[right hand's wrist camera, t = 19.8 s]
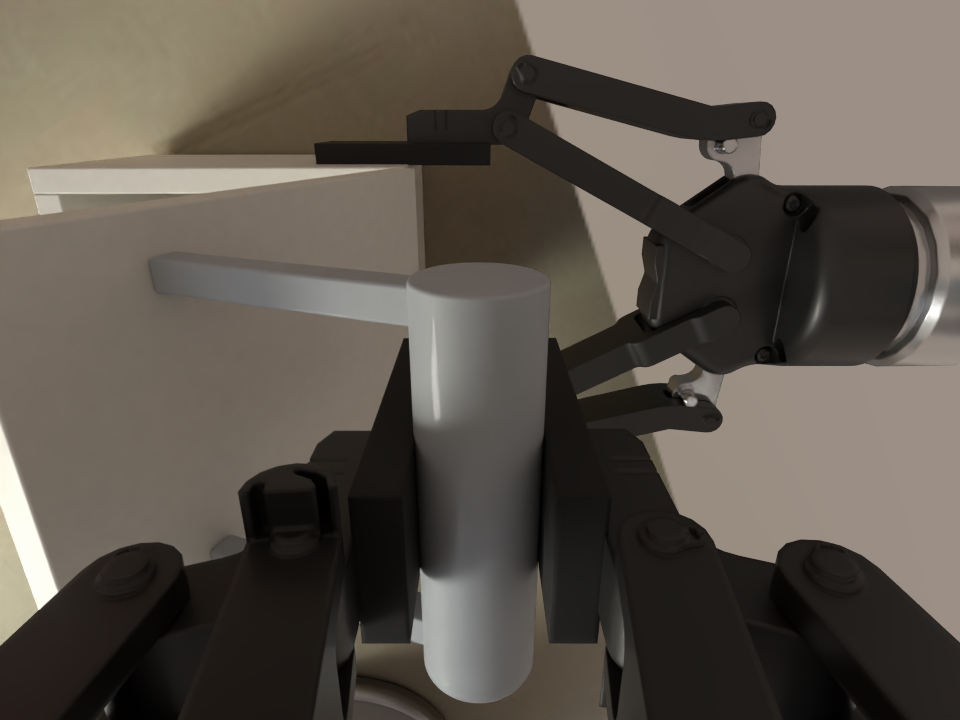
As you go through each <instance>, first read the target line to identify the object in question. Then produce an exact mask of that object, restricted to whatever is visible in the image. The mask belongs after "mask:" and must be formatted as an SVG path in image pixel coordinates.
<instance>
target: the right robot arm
mask: <svg viewBox="0 0 960 720" xmlns="http://www.w3.org/2000/svg"><path fill="white" fill-rule="evenodd" d="M238 497H239V502H240V508H241V513H242V519H243V524H244V530H245V535H246V541H247V542H246V545H245V547H244V550H243V551H241V552H239V553H237V554H234V555H230V556H227V557H223V558H219V559H215V560H210V561H206V562H201V563H196V564H192V565H187V566H185V565H184V561H183V557H182V554H181V553H180V552H179V551H178V550H177V549H176V548H175V547H174V546H172V545H168V544H164V543H161V542H151V543H138V544H134V545H130V546H126V547H123V548H119V549H117V550H115V551H113V552H110V553H108V554H106V555H104V556H102V557H100V558H98V559H97V560H95V561H94V562H92V563H91V564H90V565H88V566H87V567H86V568H84V569H83V570H81V571H80V572H79V573H78V574H77V575H76V576H75V577H74V578H73V579H72V580H71V581H70V582H69V583H67V584H66V585H65V586H64V587H63V588H62V589H61V590H60V591H59V592H58V593H57V594H56V595H55V596H53V597H52V598H51V599H50V600H49V601H48V602H47V603H46V604H45V605H44V606H43V607H42V608H41V609H40V610H38V611H37V612H36V613H35V614H34V615H33V616H32V617H31V618H30V619H29V620H28V621H27V622H26V623H24V624H23V625H22V626H21V627H20V628H19V629H18V630H17V631H16V632H15V633H14V634H13V635H12V636H11V637H9V638H8V639H7V640H6V641H5V642H4V643H3V644H2V645H1V646H0V720H352V716H353V705H354V695H355V684H356V674H357V667H356V658H355V649H354V643H355V639H356V635H357V630H358V626H359V622H360V627H361V637H362V643H411V635H412V628H413V620H414V613H415V605H416V598H417V590H418V583H419V575H420V547H419V525H418V504H417V483H416V462H415V441H414V433H413V413H412V392H411V371H410V350H409V338H404V339H403V342H402V344H401V347H400V350H399V353H398V356H397V359H396V361H395V364H394V367H393V370H392V373H391V376H390V378H389V381H388V384H387V387H386V390H385V393H384V395H383V398H382V401H381V404H380V407H379V410H378V412H377V415H376V418H375V421H374V424H373V427H372V429H371V431H333V432H332V433H331V434H329V435H328V436H327V437H325V438H324V439H323V440H322V441H320V442H319V443H318V444H317V445H316V447H315V449H314V451H313V453H312V455H311V457H310V462H308V463H307V464H304V463H294V464H288V465H281V466H277V467H274V468H271V469H268V470H265V471H263V472H260V473H259V474H257V475H255V476H254V477H252V478H251V479H249V480H248V481H246V482H245V483H244V485H243V486H242V487H241V488H240V490H239V491H238ZM538 563H539V571H540V578H541V586H542V594H543V601H544V609H545V616H546V624H547V631H548V639H549V643H597V642H598V632H599V622H600V621H601V625H602V630H603V634H604V638H605V642H606V649H605V658H604V667H603V677H602V686H601V695H600V705H599V707H607V714H608V720H960V642H959V641H957V640H956V639H955V638H954V637H953V636H952V635H951V634H950V633H949V632H948V631H947V630H946V629H945V628H943V627H942V626H941V625H940V624H939V623H938V622H937V621H936V620H935V619H934V618H933V617H932V616H930V615H929V614H928V613H927V612H926V611H925V610H924V609H923V608H922V607H921V606H920V605H919V604H917V603H916V602H915V601H914V600H913V599H912V598H911V597H910V596H909V595H908V594H907V593H906V592H904V591H903V590H902V589H901V588H900V587H899V586H898V585H897V584H896V583H895V582H894V581H893V580H891V579H890V578H889V577H888V576H887V575H886V574H885V573H884V572H883V571H882V570H881V569H880V568H878V567H877V566H876V565H874V564H873V563H871V562H870V561H869V560H867V559H866V558H865V557H863V556H862V555H860V554H858V553H855V552H853V551H851V550H849V549H847V548H845V547H842V546H840V545H836V544H833V543H829V542H824V541H820V540H797V541H794V542H790V543H786V544H785V545H784V546H783V547H782V548H781V549H780V550H779V551H778V554H777V558H776V563H775V564H774V563H770V562H765V561H761V560H756V559H752V558H747V557H742V556H738V555H735V554H731V553H728V552H724V551H722V550H720V549H717V548H716V546H715V544H714V541H713V540H712V538H711V537H710V535H709V534H708V532H707V531H706V530H705V529H704V528H703V527H701V526H700V525H699V524H697V523H696V522H695V521H693V520H692V519H690V518H687V517H685V516H682V515H680V514H679V513H678V511H677V509H676V507H675V505H674V503H673V501H672V499H671V497H670V495H669V493H668V491H667V489H666V487H665V485H664V483H663V481H662V479H661V477H660V475H659V473H657V470H656V468H655V466H654V464H653V462H652V460H650V456H649V454H648V452H647V450H646V448H645V446H644V444H643V442H642V441H641V440H639V439H638V438H637V437H635V436H634V435H633V434H632V433H630V432H629V431H628V430H626V429H588V428H587V425H586V422H585V419H584V417H583V414H582V411H581V408H580V405H579V402H578V399H577V397H576V394H575V391H574V388H573V385H572V382H571V380H570V377H569V374H568V371H567V368H566V365H565V363H564V360H563V357H562V354H561V351H560V348H559V346H558V343H557V340H556V338H548V355H547V377H546V399H545V420H544V442H543V463H542V485H541V507H540V528H539V550H538Z"/></svg>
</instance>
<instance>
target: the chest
mask: <svg viewBox="0 0 960 720" xmlns="http://www.w3.org/2000/svg"><path fill="white" fill-rule="evenodd" d="M389 168H412V169H415V187H416V212H417V238H418V263H419V271H420V270H423V269H425V241H424V213H423V184H422V165H407V164H316V157H315V155H145V156H136V157H126V158H117V159H107V160H98V161H88V162H78V163H69V164H59V165H50V166H40V167H30V168H28V169H27V171H28V174H29V178H30V182H31V185H32V189H33V192H34V193H35V195H34V197H35V201H36V204H37V208H38V212H39V215H44V214H51V213H59V212H66V211H74V210H81V209H89V208H96V207H104V206H111V205H119V204H126V203H134V202H141V201H149V200H156V199H164V198H171V197H179V196H186V195H194V194H201V193H209V192H216V191H224V190H232V189H239V188H247V187H254V186H262V185H269V184H277V183H284V182H292V181H299V180H307V179H314V178H322V177H329V176H337V175H344V174H352V173H359V172H367V171H374V170H382V169H389Z"/></svg>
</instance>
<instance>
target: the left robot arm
mask: <svg viewBox="0 0 960 720" xmlns="http://www.w3.org/2000/svg"><path fill="white" fill-rule="evenodd" d="M535 99H538V100H541V101H545V102H548V103H552V104H556V105H559V106H563V107H567V108H571V109H574V110H577V111H581V112H585V113H588V114H592V115H596V116H599V117H603V118H607V119H610V120H614V121H617V122H621V123H625V124H628V125H632V126H635V127H639V128H643V129H646V130H650V131H654V132H658V133H661V134H665V135H668V136H673V137H677V138H684V139H695V140H699V150H700V152H701V154H702V155H703V156H704V157H705V158H707V159H710V160H716V161H718V162H719V163H720V164H721V165H722V166H723V168H724V172H725V176H723V177H721V178H720V179H718V180H717V181H716V182H714V183H713V184H711V185H710V186H708V187H707V188H705V189H704V190H702V191H701V192H699V193H698V194H696V195H695V196H694V197H692V198H690V199H689V200H688V201H686V202H685V203H683V204H682V205H680V206H679V205H677V204H676V203H674V202H672V201H670V200H669V199H667V198H665V197H663V196H661V195H659V194H657V193H656V192H654V191H652V190H650V189H649V188H647V187H645V186H643V185H642V184H640V183H638V182H636V181H635V180H633V179H631V178H629V177H628V176H626V175H624V174H623V173H621V172H619V171H617V170H616V169H614V168H612V167H610V166H609V165H607V164H605V163H604V162H602V161H600V160H598V159H597V158H595V157H593V156H591V155H590V154H588V153H586V152H584V151H583V150H581V149H579V148H577V147H576V146H574V145H572V144H571V143H569V142H567V141H565V140H564V139H562V138H560V137H559V136H557V135H555V134H553V133H552V132H550V131H548V130H546V129H545V128H543V127H541V126H539V125H538V124H536V123H534V122H533V121H531V120H529V119H528V118H529V116H530V113H531V110H532V108H533V105H534V102H535ZM406 117H407V141H329V142H322V143H315V144H314V146H315V157H316V164H407V165H490V145H505V146H507V147H508V148H510V149H512V150H514V151H515V152H517V153H519V154H521V155H523V156H524V157H526V158H528V159H530V160H531V161H533V162H535V163H537V164H538V165H540V166H542V167H544V168H546V169H547V170H549V171H551V172H553V173H554V174H556V175H558V176H560V177H562V178H563V179H565V180H567V181H569V182H570V183H572V184H574V185H576V186H577V187H579V188H581V189H583V190H585V191H586V192H588V193H590V194H592V195H593V196H595V197H597V198H599V199H601V200H602V201H604V202H606V203H608V204H609V205H611V206H613V207H615V208H616V209H618V210H620V211H622V212H624V213H625V214H627V215H629V216H631V217H632V218H634V219H636V220H638V221H640V222H641V223H643V224H645V225H646V226H648V227H650V228H652V229H651V231H650V233H649V235H648V237H644V238H643V248H642V258H643V264H644V271H645V272H644V275H643V278H642V281H641V283H640V286H639V288H638V296H637V307H638V308H639V309H638V310H636V311H634V312H632V313H630V314H627V315H625V316H623V317H622V318H620V319H619V320H618V321H617V323H616V324H615V325H613V326H612V327H610V328H608V329H605V330H603V331H601V332H599V333H597V334H595V335H593V336H591V337H589V338H587V339H584V340H582V341H580V342H578V343H576V344H574V345H572V346H570V347H568V348H566V349H563V350H561V354H562V357H563V360H564V363H565V365H566V368H567V371H568V374H569V377H570V380H571V382H572V385H573V388H574V391H575V394H576V395H577V394H579V393H581V392H583V391H585V390H588V389H590V388H592V387H594V386H596V385H598V384H601V383H603V382H605V381H607V380H609V379H611V378H614V377H616V376H618V375H620V374H622V373H625V372H627V371H629V370H631V369H633V368H636V367H649V366H652V365H655V364H657V363H659V362H661V361H664V360H666V359H668V358H670V357H672V356H675V355H677V354H679V353H681V354H683V355H684V356H685V357H687V358H688V359H689V360H691V361H692V362H693V363H695V364H696V365H695V367H694V368H693V370H692V371H690V372H689V373H687V374H684V375H673V376H671V377H670V379H669V382H668V383H656V384H647V385H641V386H636V387H632V388H627V389H623V390H618V391H614V392H609V393H604V394H600V395H595V396H591V397H586V398H582V399H578V402H579V405H580V408H581V411H582V414H583V417H584V419H585V422H586V425H587V428H588V429H626V430H628V431H629V432H630V433H632V434H633V435H634V436H638V435H643V434H648V433H652V432H657V431H661V430H666V429H676V430H686V431H697V432H712V431H714V430H716V429H717V428H719V427H720V425H721V423H722V419H723V417H722V414H721V413H720V411H719V410H718V409H717V408H716V406H715V405H716V401H717V398H718V394H719V391H720V387H721V383H722V380H723V376H724V374H728V373H731V372H733V371H735V370H737V369H739V368H742V367H744V366H748V365H752V364H765V365H778V366H855V365H860V364H864V363H866V364H870V365H873V366H951V365H952V366H953V365H960V186H889V187H886V188H883V189H881V188H878V187H874V186H782V185H775V184H773V183H771V182H769V181H768V180H766V179H765V178H763V177H761V176H759V165H760V151H761V137H762V135H765V134H766V133H768V132H769V131H770V130H771V129H772V127H773V126H774V124H775V120H776V112H775V109H774V108H773V106H772V105H771V104H769V103H767V102H747V103H733V104H724V105H715V106H710V105H706V104H703V103H699V102H696V101H692V100H688V99H685V98H681V97H678V96H674V95H671V94H667V93H664V92H660V91H657V90H653V89H650V88H646V87H643V86H639V85H635V84H632V83H628V82H625V81H621V80H618V79H614V78H611V77H607V76H604V75H600V74H597V73H593V72H589V71H586V70H582V69H579V68H575V67H572V66H568V65H565V64H561V63H558V62H554V61H551V60H547V59H543V58H540V57H536V56H533V55H525V56H523V57H520V58H519V59H518V60H517V61H516V62H515V63H514V65H513V66H512V68H511V70H510V72H509V75H508V78H507V81H506V84H505V87H504V90H503V93H502V95H501V98H500V100H499V102H498V103H497V104H496V105H495V106H493V107H492V108H490V109H487V110H419V111H416V112H414V113H412V114H410V115H407V116H406ZM352 720H444V719H443V717H442V716H441V715H440V714H439V712H438V711H437V710H436V709H435V708H434V707H433V706H431V705H430V704H429V703H428V702H426V701H425V700H424V699H422V698H421V697H419V696H417V695H416V694H414V693H412V692H410V691H408V690H406V689H404V688H402V687H399V686H397V685H394V684H391V683H388V682H384V681H380V680H375V679H369V678H361V677H356V684H355V695H354V705H353V716H352Z"/></svg>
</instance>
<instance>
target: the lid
mask: <svg viewBox="0 0 960 720" xmlns="http://www.w3.org/2000/svg"><path fill="white" fill-rule="evenodd" d="M550 290H551V282H550V279H549V278H548V276H547V275H545V274H544V273H542V272H540V271H537V270H534V269H531V268H528V267H524V266H518V265H512V264H504V263H488V262H469V263H454V264H445V265H439V266H434V267H430V268H426V269H423V270H420V271H419V263H418V238H417V212H416V187H415V169H412V168H389V169H382V170H374V171H367V172H359V173H352V174H344V175H337V176H329V177H322V178H314V179H307V180H299V181H292V182H284V183H277V184H269V185H262V186H254V187H247V188H239V189H232V190H224V191H216V192H209V193H201V194H194V195H186V196H179V197H171V198H164V199H156V200H149V201H141V202H134V203H126V204H119V205H111V206H104V207H96V208H89V209H81V210H74V211H66V212H59V213H51V214H44V215H36V216H29V217H21V218H14V219H6V220H0V505H1V508H2V510H3V513H4V516H5V519H6V521H7V524H8V527H9V530H10V532H11V535H12V538H13V541H14V543H15V546H16V549H17V552H18V554H19V557H20V560H21V563H22V565H23V568H24V571H25V574H26V576H27V579H28V582H29V585H30V588H31V590H32V593H33V596H34V599H35V601H36V604H37V607H38V610H40V609H41V608H42V607H43V606H44V605H45V604H46V603H47V602H48V601H49V600H50V599H51V598H52V597H53V596H55V595H56V594H57V593H58V592H59V591H60V590H61V589H62V588H63V587H64V586H65V585H66V584H67V583H69V582H70V581H71V580H72V579H73V578H74V577H75V576H76V575H77V574H78V573H79V572H80V571H81V570H83V569H84V568H86V567H87V566H88V565H90V564H91V563H92V562H94V561H95V560H97V559H98V558H100V557H102V556H104V555H106V554H108V553H110V552H113V551H115V550H117V549H119V548H123V547H126V546H130V545H134V544H138V543H151V542H161V543H164V544H168V545H172V546H174V547H175V548H176V549H177V550H178V551H179V552H180V553H181V554H182V557H183V561H184V565H185V566H187V565H192V564H196V563H201V562H206V561H210V560H215V559H219V558H223V557H227V556H230V555H234V554H237V553H239V552H241V551H243V550H244V547H245V545H246V542H247V541H246V535H245V530H244V524H243V519H242V513H241V508H240V502H239V497H238V491H239V490H240V488H241V487H242V486H243V485H244V483H245V482H246V481H248V480H249V479H251V478H252V477H254V476H255V475H257V474H259V473H260V472H263V471H265V470H268V469H271V468H274V467H277V466H281V465H288V464H294V463H304V464H307V463H308V462H310V457H311V455H312V453H313V451H314V449H315V447H316V445H317V444H318V443H319V442H320V441H322V440H323V439H324V438H325V437H327V436H328V435H329V434H331V433H332V432H333V431H371V429H372V427H373V424H374V421H375V418H376V415H377V412H378V410H379V407H380V404H381V401H382V398H383V395H384V393H385V390H386V387H387V384H388V381H389V378H390V376H391V373H392V370H393V367H394V364H395V361H396V359H397V356H398V353H399V350H400V347H401V344H402V342H403V339H404V338H409V350H410V371H411V392H412V413H413V433H414V441H415V462H416V483H417V504H418V525H419V547H420V582H421V592H418V591H417V598H416V605H415V613H414V620H413V628H412V635H411V641H413V642H416V643H419V644H422V645H424V661H425V667H426V670H427V672H428V674H429V676H430V678H431V679H432V681H433V682H434V684H435V685H436V686H437V687H438V688H439V689H440V690H442V691H443V692H444V693H446V694H447V695H449V696H451V697H453V698H455V699H457V700H461V701H464V702H470V703H488V702H493V701H497V700H500V699H503V698H505V697H507V696H509V695H510V694H512V693H513V692H515V691H516V690H517V689H518V688H519V687H520V686H521V685H522V684H523V683H524V682H525V680H526V679H527V677H528V676H529V674H530V671H531V669H532V665H533V658H534V637H535V615H536V593H537V572H538V550H539V528H540V507H541V485H542V463H543V442H544V420H545V399H546V377H547V355H548V334H549V312H550ZM359 623H360V622H359Z"/></svg>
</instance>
